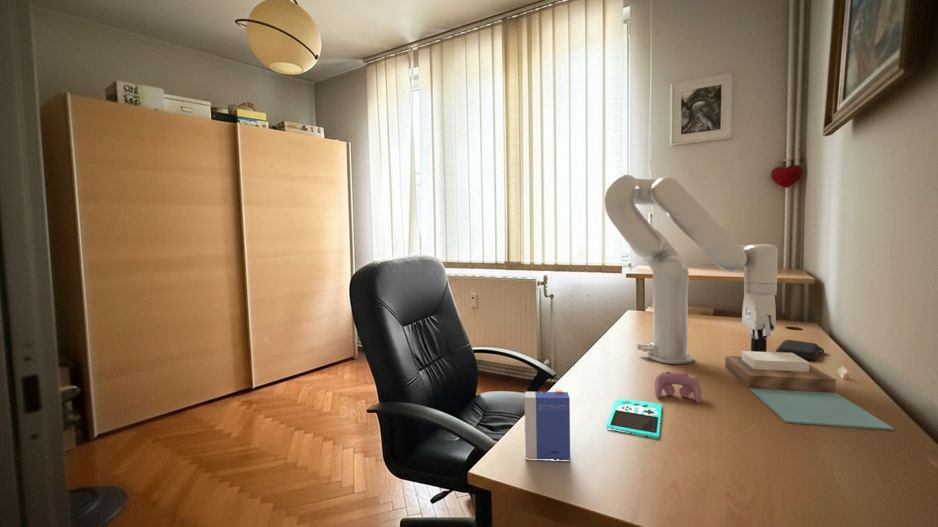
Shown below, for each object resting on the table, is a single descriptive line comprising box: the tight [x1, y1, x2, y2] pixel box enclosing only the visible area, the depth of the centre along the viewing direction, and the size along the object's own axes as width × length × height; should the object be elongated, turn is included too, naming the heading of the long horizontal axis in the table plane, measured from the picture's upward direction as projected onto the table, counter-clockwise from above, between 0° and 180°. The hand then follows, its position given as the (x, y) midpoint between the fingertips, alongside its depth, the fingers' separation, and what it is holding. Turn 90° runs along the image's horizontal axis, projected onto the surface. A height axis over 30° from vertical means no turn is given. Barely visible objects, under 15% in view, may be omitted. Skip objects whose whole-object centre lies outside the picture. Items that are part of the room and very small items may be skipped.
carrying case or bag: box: [775, 339, 825, 362], centre depth 127 cm, size 11×3×15 cm
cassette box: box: [741, 350, 810, 372], centre depth 107 cm, size 12×8×2 cm, turn 76°
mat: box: [749, 388, 895, 431], centre depth 90 cm, size 18×18×1 cm
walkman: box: [523, 389, 571, 461], centre depth 73 cm, size 8×3×12 cm, turn 84°
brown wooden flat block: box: [724, 355, 837, 393], centre depth 107 cm, size 18×16×4 cm
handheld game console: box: [606, 398, 663, 439], centre depth 88 cm, size 10×16×1 cm, turn 153°
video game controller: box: [654, 371, 702, 404], centre depth 98 cm, size 10×5×7 cm, turn 66°
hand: (758, 352), depth 116 cm, fingers closed
